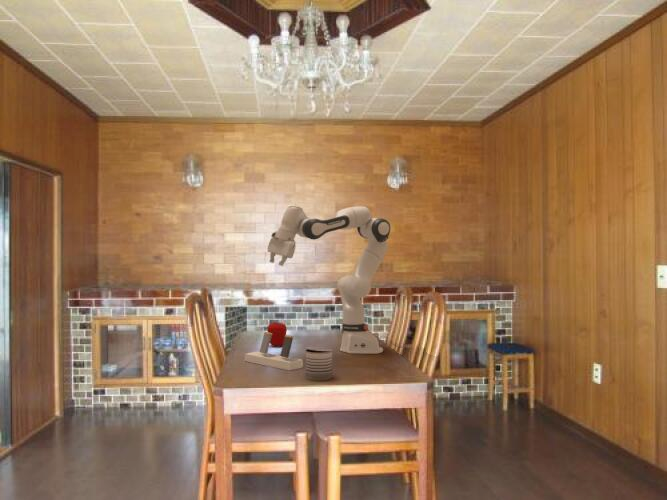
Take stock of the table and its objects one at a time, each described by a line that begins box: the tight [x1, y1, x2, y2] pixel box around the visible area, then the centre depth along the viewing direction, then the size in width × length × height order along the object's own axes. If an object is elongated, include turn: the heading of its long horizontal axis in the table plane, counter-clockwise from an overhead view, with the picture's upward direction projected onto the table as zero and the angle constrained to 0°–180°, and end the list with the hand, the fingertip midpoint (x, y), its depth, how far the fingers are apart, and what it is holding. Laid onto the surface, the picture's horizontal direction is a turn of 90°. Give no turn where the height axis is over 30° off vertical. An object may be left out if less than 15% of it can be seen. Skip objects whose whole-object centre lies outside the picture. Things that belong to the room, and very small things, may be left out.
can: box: [305, 346, 333, 381], centre depth 218 cm, size 11×11×12 cm
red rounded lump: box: [266, 321, 288, 347], centre depth 288 cm, size 10×10×14 cm
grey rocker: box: [258, 331, 272, 354], centre depth 247 cm, size 2×4×10 cm, turn 50°
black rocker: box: [280, 334, 294, 358], centre depth 238 cm, size 2×4×10 cm, turn 50°
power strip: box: [244, 350, 304, 372], centre depth 241 cm, size 8×30×4 cm, turn 50°
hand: (275, 263), depth 257 cm, fingers open, 8 cm apart
